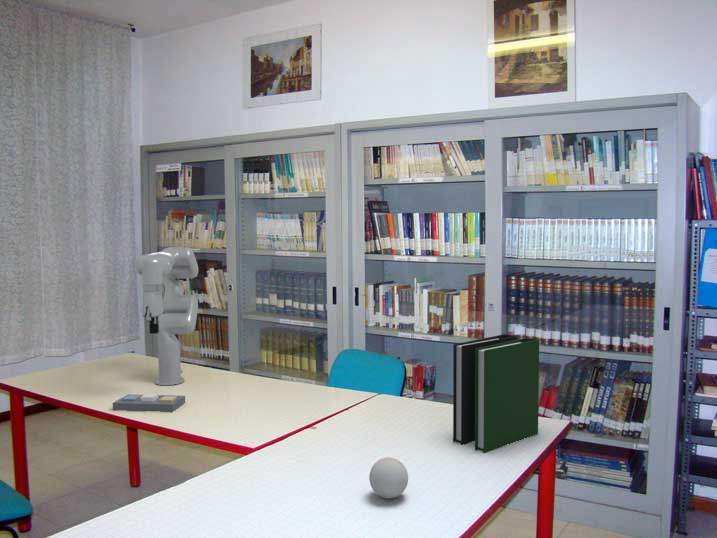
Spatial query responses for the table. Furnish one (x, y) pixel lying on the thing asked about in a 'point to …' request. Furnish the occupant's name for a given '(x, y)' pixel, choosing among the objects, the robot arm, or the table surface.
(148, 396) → the ivory key
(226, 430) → the table surface
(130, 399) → the slate key
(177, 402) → the keypad
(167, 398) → the tan key
